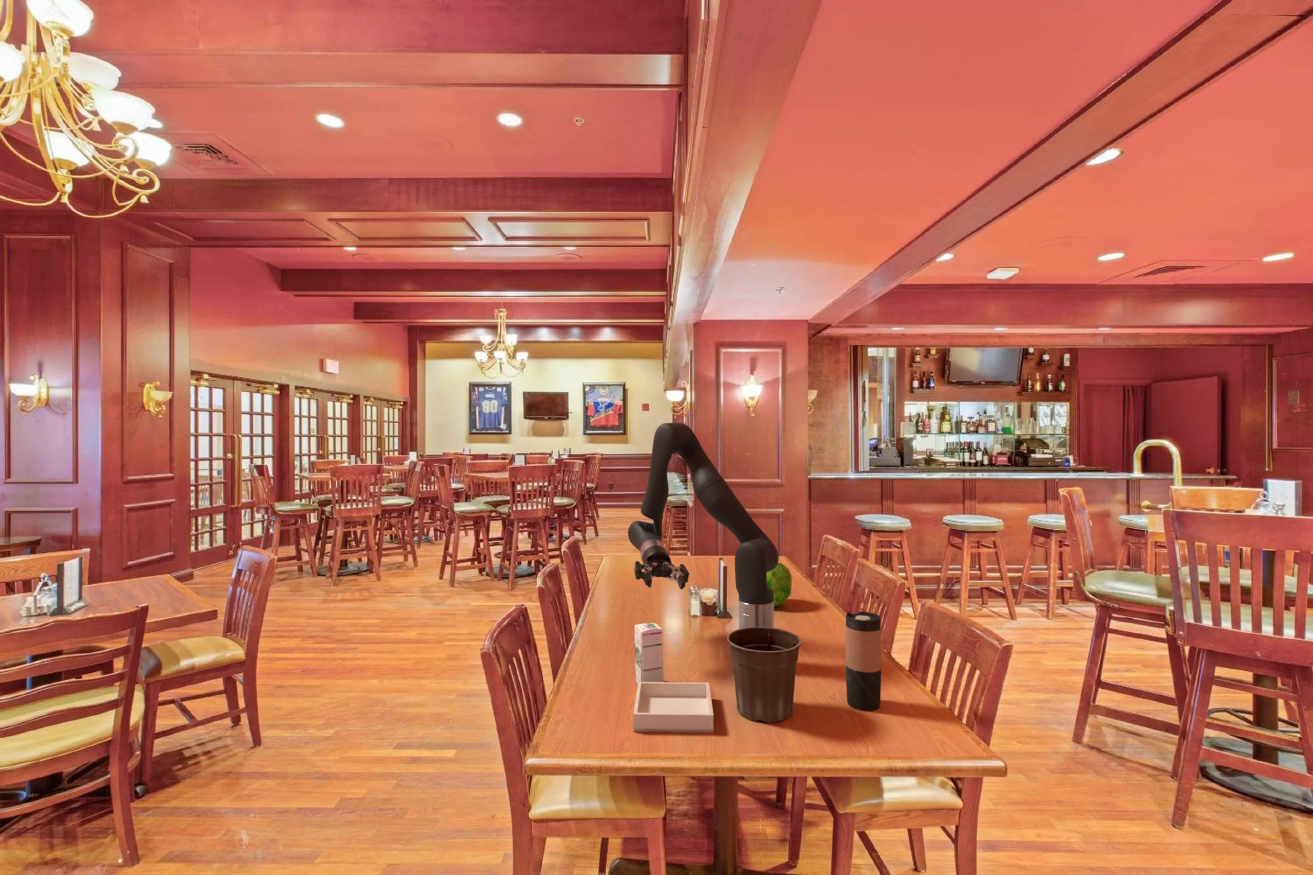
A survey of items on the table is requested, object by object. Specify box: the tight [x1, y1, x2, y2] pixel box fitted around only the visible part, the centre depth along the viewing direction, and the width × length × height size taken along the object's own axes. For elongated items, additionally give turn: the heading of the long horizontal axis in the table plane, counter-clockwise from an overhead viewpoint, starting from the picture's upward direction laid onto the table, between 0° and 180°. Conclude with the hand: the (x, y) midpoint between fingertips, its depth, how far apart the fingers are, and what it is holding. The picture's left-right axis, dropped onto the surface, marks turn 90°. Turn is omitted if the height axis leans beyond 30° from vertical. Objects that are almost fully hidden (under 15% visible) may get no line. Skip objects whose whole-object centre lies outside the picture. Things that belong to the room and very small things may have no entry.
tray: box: [632, 681, 714, 734], centre depth 130 cm, size 16×16×4 cm
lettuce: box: [766, 562, 793, 608], centre depth 216 cm, size 17×20×16 cm
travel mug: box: [845, 610, 882, 712], centre depth 135 cm, size 8×8×20 cm
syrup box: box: [634, 622, 665, 686], centre depth 146 cm, size 6×6×14 cm
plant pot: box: [726, 627, 802, 724], centre depth 132 cm, size 16×16×16 cm
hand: (666, 585), depth 153 cm, fingers open, 8 cm apart
